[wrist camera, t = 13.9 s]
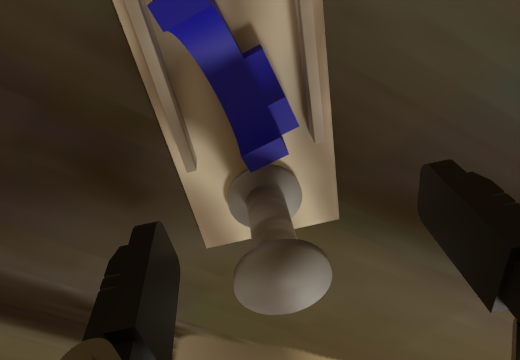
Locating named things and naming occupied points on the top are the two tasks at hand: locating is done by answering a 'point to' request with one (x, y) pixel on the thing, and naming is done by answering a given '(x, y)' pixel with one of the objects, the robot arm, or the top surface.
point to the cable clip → (233, 78)
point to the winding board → (228, 154)
